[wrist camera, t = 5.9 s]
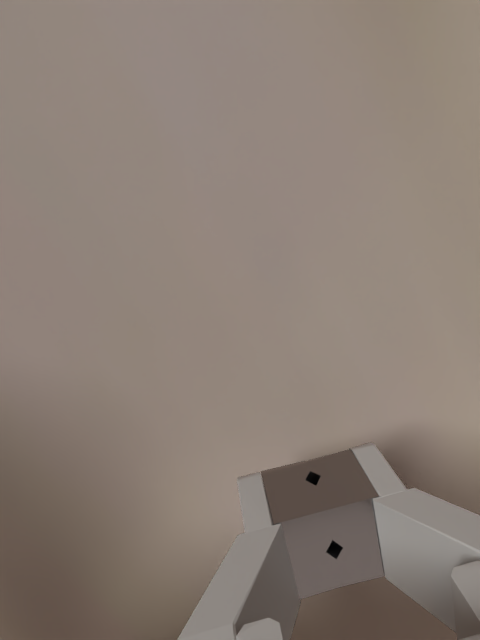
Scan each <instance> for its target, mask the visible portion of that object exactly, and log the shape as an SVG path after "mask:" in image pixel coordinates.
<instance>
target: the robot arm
mask: <svg viewBox="0 0 480 640" xmlns="http://www.w3.org/2000/svg"><path fill="white" fill-rule="evenodd" d="M261 475H262V477H261ZM262 479H263V481H262ZM263 484H264V485H263ZM237 485H238V492H239V498H240V505H241V511H242V518H243V525H244V531H245V533H243V534H239V535H238V536H237V537H236V539H235V541H234V542H233V544H232V546H231V548H230V549H229V551H228V553H227V555H226V556H225V558H224V560H223V561H222V563H221V565H220V567H219V568H218V570H217V572H216V573H215V575H214V577H213V579H212V580H211V582H210V584H209V586H208V587H207V589H206V591H205V592H204V594H203V596H202V598H201V599H200V601H199V603H198V605H197V606H196V608H195V610H194V611H193V613H192V615H191V617H190V618H189V620H188V622H187V623H186V625H185V627H184V629H183V630H182V632H181V634H180V636H179V637H178V639H177V640H290V639H291V635H292V632H293V628H294V625H295V621H296V617H297V614H298V610H299V607H300V603H301V601H300V599H303V598H306V597H309V596H313V595H316V594H319V593H322V592H326V591H329V590H332V589H335V588H339V587H342V586H346V585H351V584H355V583H359V582H363V581H367V580H371V579H375V578H380V577H384V576H385V578H386V579H387V580H388V581H390V582H391V583H392V584H393V585H395V586H396V587H397V588H399V589H400V590H401V591H402V592H404V593H405V594H406V595H408V596H409V597H410V598H412V599H413V600H414V601H415V602H417V603H418V604H419V605H421V606H422V607H423V608H425V609H426V610H427V611H428V612H430V613H431V614H432V615H434V616H435V617H436V618H438V619H439V620H440V621H441V622H443V623H444V624H445V625H447V626H448V627H449V628H450V629H452V630H453V631H454V632H456V633H457V640H480V515H478V514H476V513H473V512H471V511H469V510H466V509H464V508H462V507H459V506H457V505H454V504H452V503H450V502H447V501H445V500H443V499H440V498H438V497H435V496H433V495H431V494H428V493H426V492H423V491H421V490H419V489H416V488H412V489H407V488H406V487H405V485H404V484H403V482H402V481H401V480H400V478H399V477H398V475H397V474H396V473H395V471H394V470H393V469H392V467H391V466H390V464H389V463H388V462H387V460H386V459H385V457H384V456H383V455H382V453H381V452H380V450H379V449H378V448H377V446H376V445H375V444H374V443H372V442H370V443H366V444H363V445H359V446H356V447H353V448H349V450H345V451H341V452H338V453H334V454H330V455H326V456H323V457H319V458H315V459H312V460H308V461H302V462H298V463H294V464H290V465H285V466H281V467H277V468H273V469H269V470H264V471H261V473H260V472H257V473H253V474H249V475H245V476H241V477H238V478H237Z"/></svg>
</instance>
